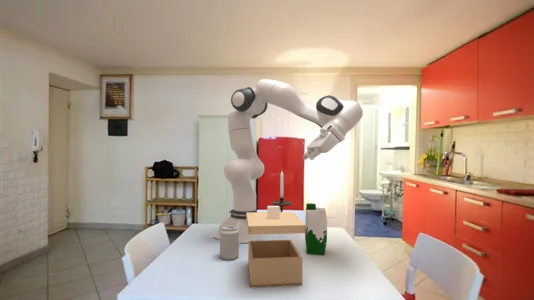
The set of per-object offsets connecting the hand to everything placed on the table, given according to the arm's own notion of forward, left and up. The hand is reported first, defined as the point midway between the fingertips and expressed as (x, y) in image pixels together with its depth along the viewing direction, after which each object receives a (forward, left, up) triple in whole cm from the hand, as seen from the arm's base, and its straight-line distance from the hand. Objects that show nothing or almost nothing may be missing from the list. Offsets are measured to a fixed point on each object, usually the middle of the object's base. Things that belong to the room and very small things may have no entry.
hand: (306, 158), depth 106 cm
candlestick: (-28, +37, -40) cm, 61 cm away
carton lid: (-5, -18, -23) cm, 29 cm away
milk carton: (+1, +10, -40) cm, 41 cm away
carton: (-5, -18, -39) cm, 43 cm away
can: (-27, -13, -40) cm, 50 cm away
